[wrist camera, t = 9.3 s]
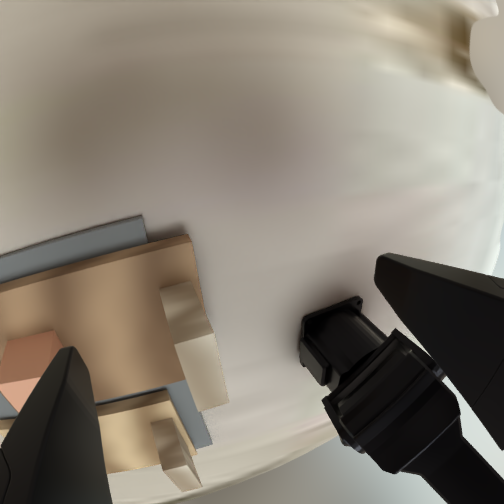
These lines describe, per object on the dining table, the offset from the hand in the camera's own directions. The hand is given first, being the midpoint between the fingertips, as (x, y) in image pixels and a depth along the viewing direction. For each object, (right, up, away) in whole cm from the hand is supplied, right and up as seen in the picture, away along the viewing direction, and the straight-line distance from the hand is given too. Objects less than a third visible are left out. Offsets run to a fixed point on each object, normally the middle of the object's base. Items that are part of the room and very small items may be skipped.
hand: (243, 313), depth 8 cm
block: (-14, -6, +9) cm, 17 cm away
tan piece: (-15, -16, +16) cm, 27 cm away
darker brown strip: (-12, -4, +11) cm, 17 cm away
